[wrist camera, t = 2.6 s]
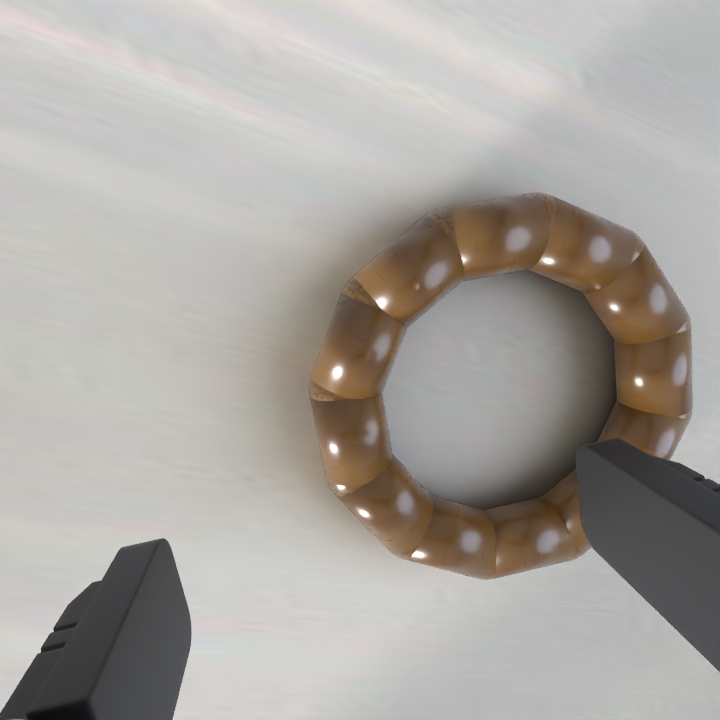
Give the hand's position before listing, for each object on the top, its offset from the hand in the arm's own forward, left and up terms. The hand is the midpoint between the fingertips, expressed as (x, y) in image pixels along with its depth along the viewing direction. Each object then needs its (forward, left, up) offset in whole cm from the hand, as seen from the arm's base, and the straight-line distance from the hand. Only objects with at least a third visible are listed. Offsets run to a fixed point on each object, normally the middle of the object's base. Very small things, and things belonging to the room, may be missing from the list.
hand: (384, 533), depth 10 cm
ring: (0, +5, -5) cm, 7 cm away
